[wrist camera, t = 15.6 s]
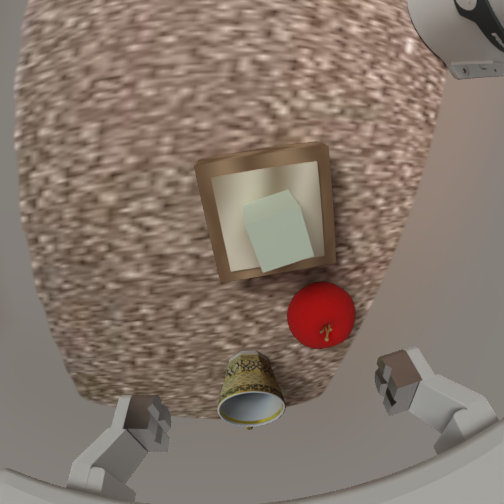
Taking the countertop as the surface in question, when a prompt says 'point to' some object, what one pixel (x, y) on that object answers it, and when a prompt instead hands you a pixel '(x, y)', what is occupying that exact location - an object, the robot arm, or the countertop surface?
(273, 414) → the ceramic cup
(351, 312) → the fruit
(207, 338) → the countertop surface
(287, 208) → the block
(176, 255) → the countertop surface
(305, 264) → the base
